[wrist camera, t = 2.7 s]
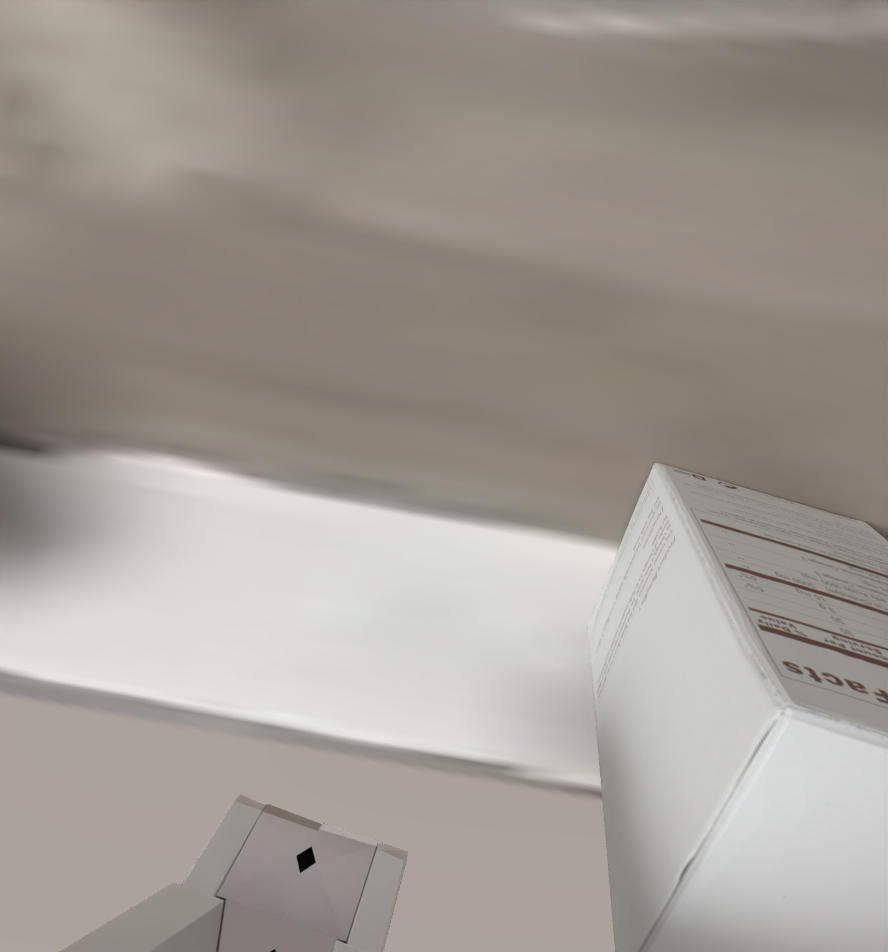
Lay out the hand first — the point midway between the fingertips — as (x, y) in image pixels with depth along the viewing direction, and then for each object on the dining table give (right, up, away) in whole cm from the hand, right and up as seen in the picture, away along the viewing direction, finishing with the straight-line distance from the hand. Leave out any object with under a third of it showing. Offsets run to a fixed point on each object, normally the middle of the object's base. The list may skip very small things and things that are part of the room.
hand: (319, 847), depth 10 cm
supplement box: (+12, +3, +12) cm, 17 cm away
